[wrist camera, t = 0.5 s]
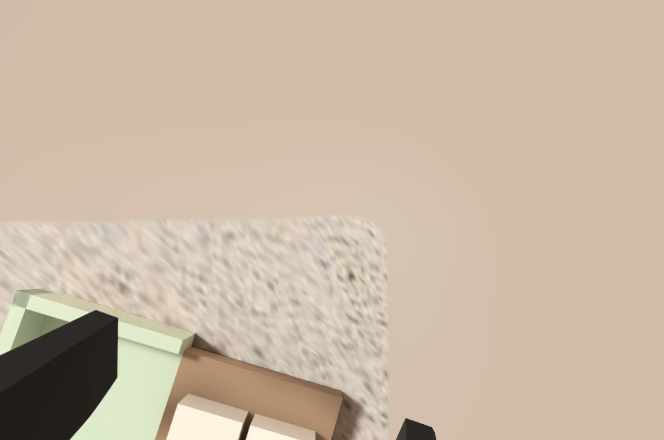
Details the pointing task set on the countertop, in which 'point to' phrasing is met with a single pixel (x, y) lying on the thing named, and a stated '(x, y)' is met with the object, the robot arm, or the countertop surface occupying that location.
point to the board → (252, 393)
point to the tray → (133, 361)
